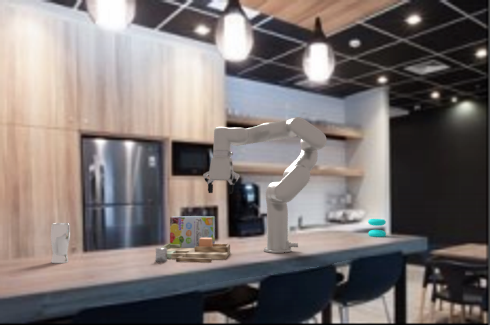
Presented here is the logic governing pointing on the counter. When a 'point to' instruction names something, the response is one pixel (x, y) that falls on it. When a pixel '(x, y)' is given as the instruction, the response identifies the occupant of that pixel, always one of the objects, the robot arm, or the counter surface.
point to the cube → (206, 242)
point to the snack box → (191, 230)
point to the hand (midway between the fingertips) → (220, 193)
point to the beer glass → (60, 242)
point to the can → (161, 254)
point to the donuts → (377, 223)
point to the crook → (193, 259)
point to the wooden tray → (198, 251)
